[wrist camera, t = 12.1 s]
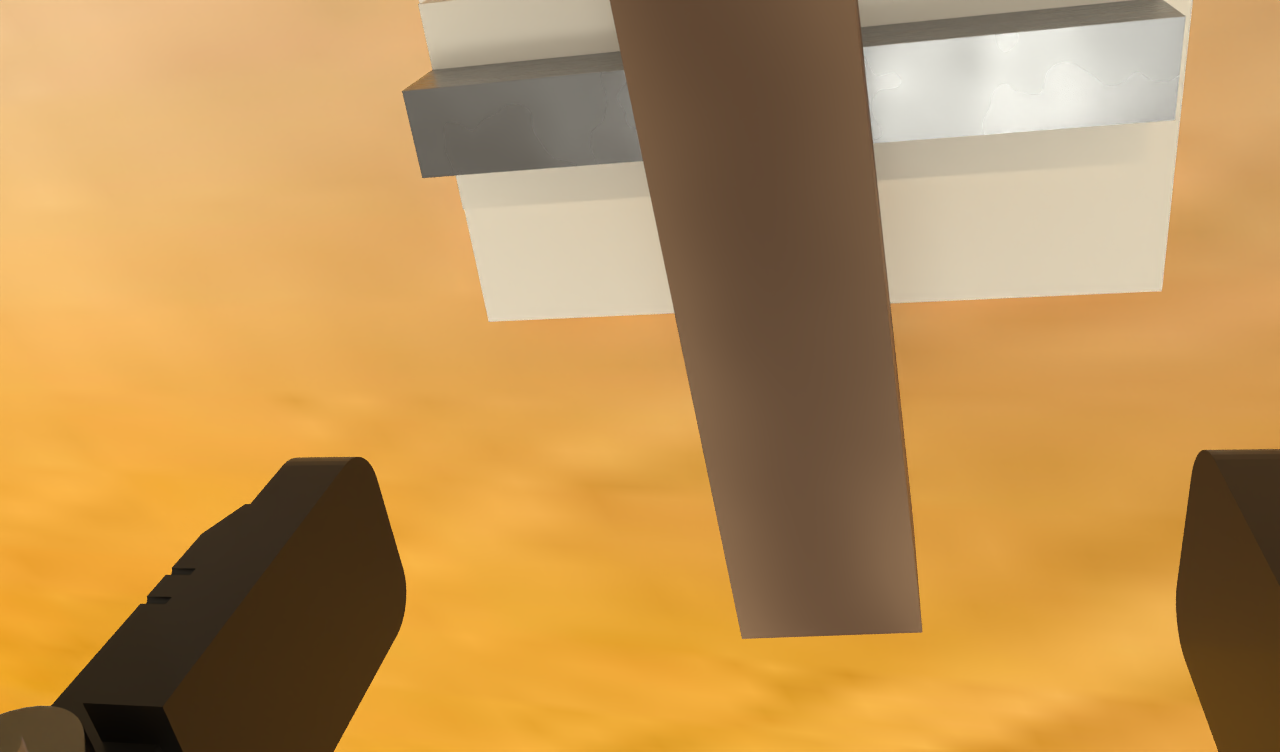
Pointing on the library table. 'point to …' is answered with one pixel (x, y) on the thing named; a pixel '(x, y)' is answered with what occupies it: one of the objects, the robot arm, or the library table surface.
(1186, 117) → the library table surface
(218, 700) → the robot arm
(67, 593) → the library table surface
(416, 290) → the library table surface
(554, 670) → the library table surface
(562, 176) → the white stand base
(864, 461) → the walnut bar
